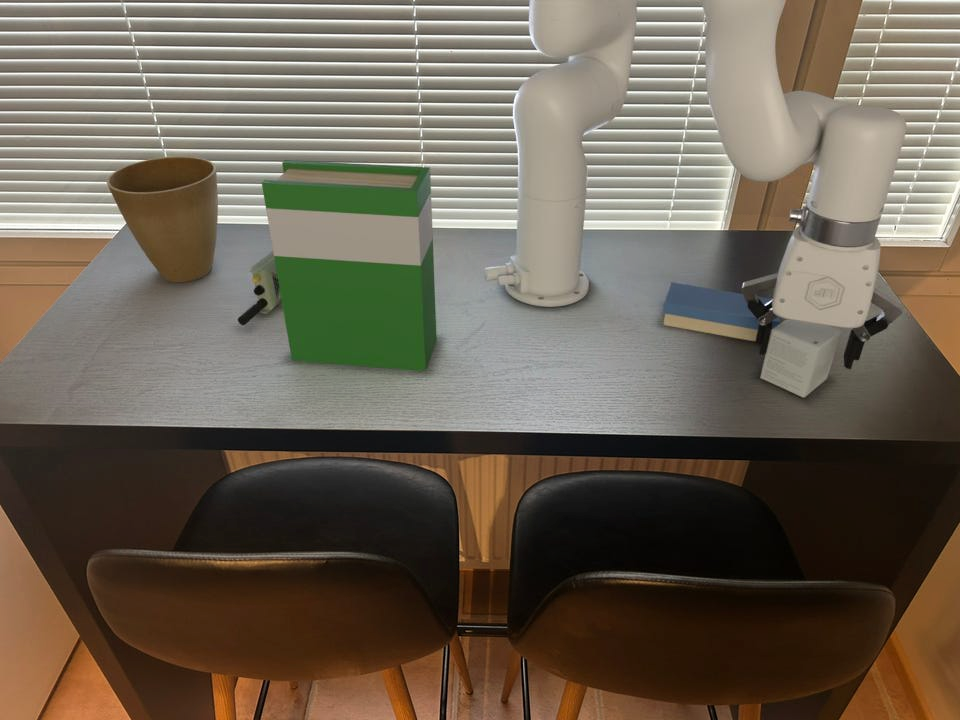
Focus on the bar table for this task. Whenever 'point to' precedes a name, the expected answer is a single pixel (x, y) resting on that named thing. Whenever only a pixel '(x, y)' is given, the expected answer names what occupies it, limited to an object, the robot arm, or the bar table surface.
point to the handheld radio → (263, 288)
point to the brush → (711, 311)
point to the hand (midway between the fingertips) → (804, 355)
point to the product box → (799, 355)
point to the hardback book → (355, 262)
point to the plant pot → (171, 212)
